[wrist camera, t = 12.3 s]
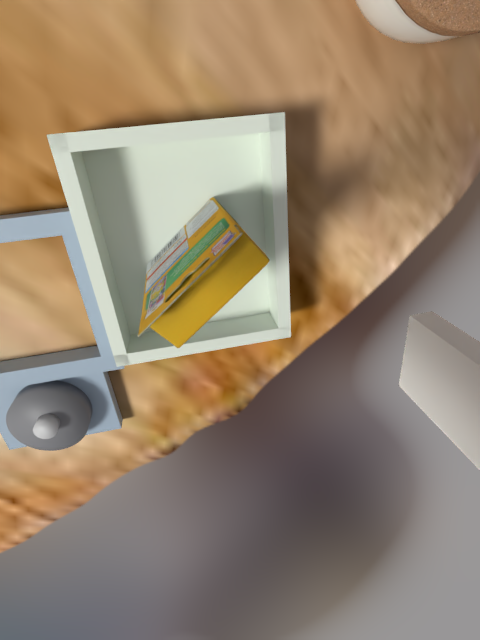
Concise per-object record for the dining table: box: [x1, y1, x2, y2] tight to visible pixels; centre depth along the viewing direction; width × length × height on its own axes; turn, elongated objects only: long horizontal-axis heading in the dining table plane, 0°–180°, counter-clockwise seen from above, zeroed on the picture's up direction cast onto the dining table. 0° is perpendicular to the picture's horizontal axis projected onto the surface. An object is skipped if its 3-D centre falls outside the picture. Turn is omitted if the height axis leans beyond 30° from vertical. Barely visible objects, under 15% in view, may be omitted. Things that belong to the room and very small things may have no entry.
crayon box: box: [138, 197, 270, 348], centre depth 22 cm, size 7×3×12 cm, turn 133°
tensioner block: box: [0, 207, 125, 451], centre depth 28 cm, size 20×14×4 cm
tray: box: [47, 112, 291, 367], centre depth 26 cm, size 16×14×4 cm
